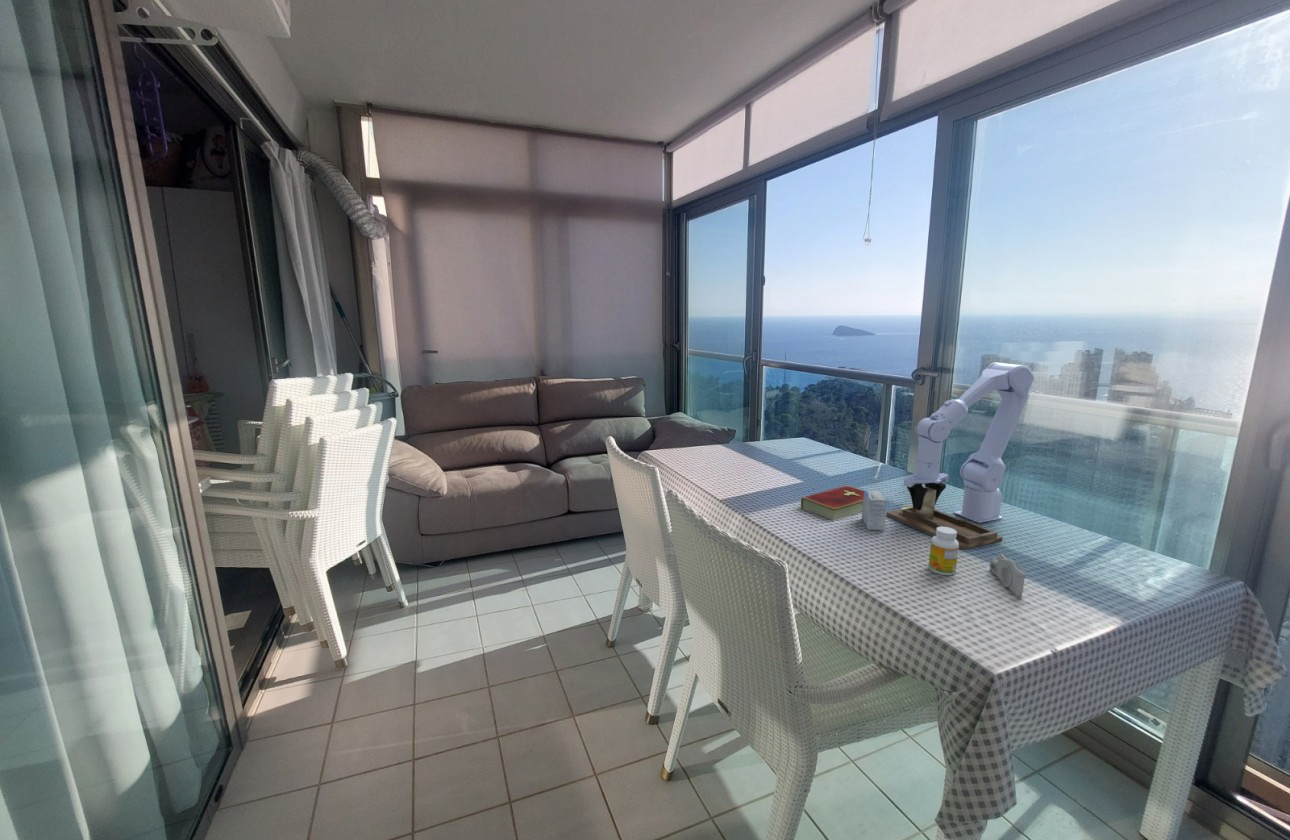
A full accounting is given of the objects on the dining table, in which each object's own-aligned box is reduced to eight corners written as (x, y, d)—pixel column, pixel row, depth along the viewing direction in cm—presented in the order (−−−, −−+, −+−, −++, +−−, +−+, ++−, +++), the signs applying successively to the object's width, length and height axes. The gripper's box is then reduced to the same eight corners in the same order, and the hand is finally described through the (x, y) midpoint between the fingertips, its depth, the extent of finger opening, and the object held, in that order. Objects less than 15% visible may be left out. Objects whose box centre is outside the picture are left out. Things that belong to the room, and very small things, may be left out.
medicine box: (884, 531, 139) (887, 500, 137) (867, 529, 140) (869, 499, 138) (877, 520, 146) (880, 490, 145) (861, 518, 147) (863, 489, 146)
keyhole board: (922, 508, 155) (923, 500, 154) (1001, 540, 133) (1003, 531, 132) (886, 515, 150) (887, 507, 149) (962, 549, 128) (963, 539, 127)
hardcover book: (800, 509, 156) (801, 496, 155) (845, 496, 167) (846, 484, 166) (833, 522, 146) (834, 508, 145) (879, 508, 157) (880, 494, 156)
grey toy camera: (987, 569, 118) (991, 545, 117) (996, 569, 118) (1000, 545, 116) (1015, 596, 106) (1019, 570, 105) (1024, 597, 106) (1028, 571, 105)
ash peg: (923, 512, 149) (926, 486, 147) (936, 518, 145) (940, 491, 143) (911, 514, 147) (914, 488, 146) (924, 520, 143) (927, 493, 142)
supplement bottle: (923, 564, 120) (928, 525, 118) (947, 564, 120) (952, 525, 118) (935, 575, 115) (940, 534, 113) (960, 576, 115) (965, 535, 113)
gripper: (920, 468, 137) (915, 516, 140) (960, 462, 142) (954, 509, 145) (899, 461, 144) (895, 507, 146) (938, 456, 149) (933, 501, 151)
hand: (923, 507), depth 146 cm, fingers closed on ash peg, 4 cm apart
